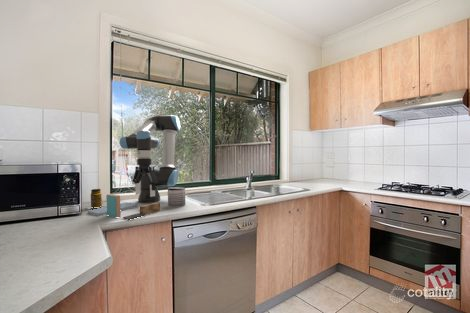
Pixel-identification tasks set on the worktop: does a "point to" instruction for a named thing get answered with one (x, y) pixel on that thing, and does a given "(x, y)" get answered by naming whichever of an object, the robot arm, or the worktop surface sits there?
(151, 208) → the turner
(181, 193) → the can
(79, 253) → the worktop surface
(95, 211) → the board
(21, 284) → the worktop surface
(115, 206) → the tile
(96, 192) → the condiment
